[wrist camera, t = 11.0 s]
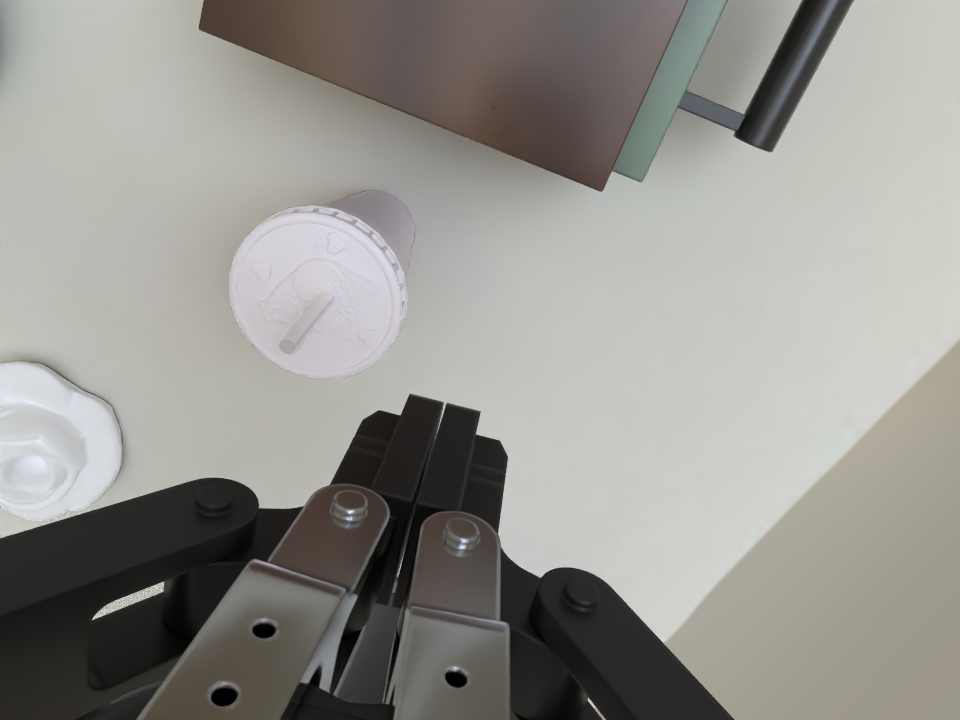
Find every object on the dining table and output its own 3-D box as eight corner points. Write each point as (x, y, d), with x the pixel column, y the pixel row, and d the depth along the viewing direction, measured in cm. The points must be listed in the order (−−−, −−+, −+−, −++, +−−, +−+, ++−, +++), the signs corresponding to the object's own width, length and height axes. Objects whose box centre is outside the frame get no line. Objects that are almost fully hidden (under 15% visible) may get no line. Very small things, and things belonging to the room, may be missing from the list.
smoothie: (459, 279, 36) (401, 422, 24) (334, 307, 37) (216, 457, 25) (420, 144, 34) (334, 224, 21) (289, 179, 35) (132, 274, 22)
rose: (-125, 373, 36) (70, 400, 36) (-57, 337, 40) (119, 362, 40) (-81, 540, 41) (94, 567, 40) (-23, 493, 45) (137, 516, 44)
